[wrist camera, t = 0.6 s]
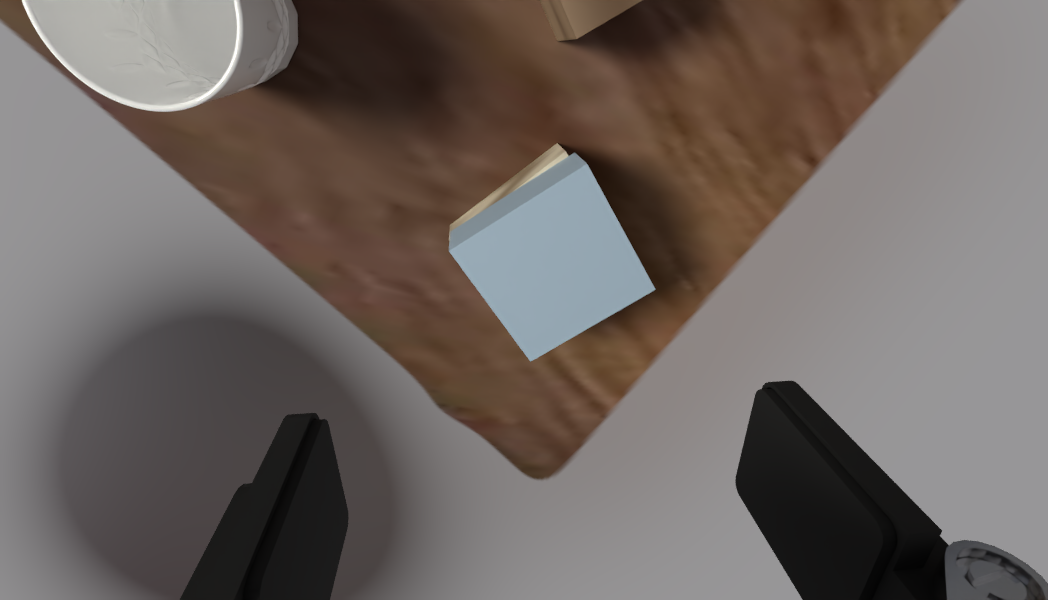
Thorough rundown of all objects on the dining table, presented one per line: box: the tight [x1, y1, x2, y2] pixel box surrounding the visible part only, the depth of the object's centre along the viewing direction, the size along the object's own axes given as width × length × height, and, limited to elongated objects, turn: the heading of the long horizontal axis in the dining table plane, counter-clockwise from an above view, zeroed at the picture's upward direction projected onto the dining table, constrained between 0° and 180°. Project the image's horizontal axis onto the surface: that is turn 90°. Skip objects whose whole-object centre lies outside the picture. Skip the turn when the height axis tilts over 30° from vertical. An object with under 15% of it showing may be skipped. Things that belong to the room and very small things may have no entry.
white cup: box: [22, 0, 298, 112], centre depth 24 cm, size 8×8×10 cm
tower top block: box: [449, 152, 656, 362], centre depth 32 cm, size 9×9×4 cm
